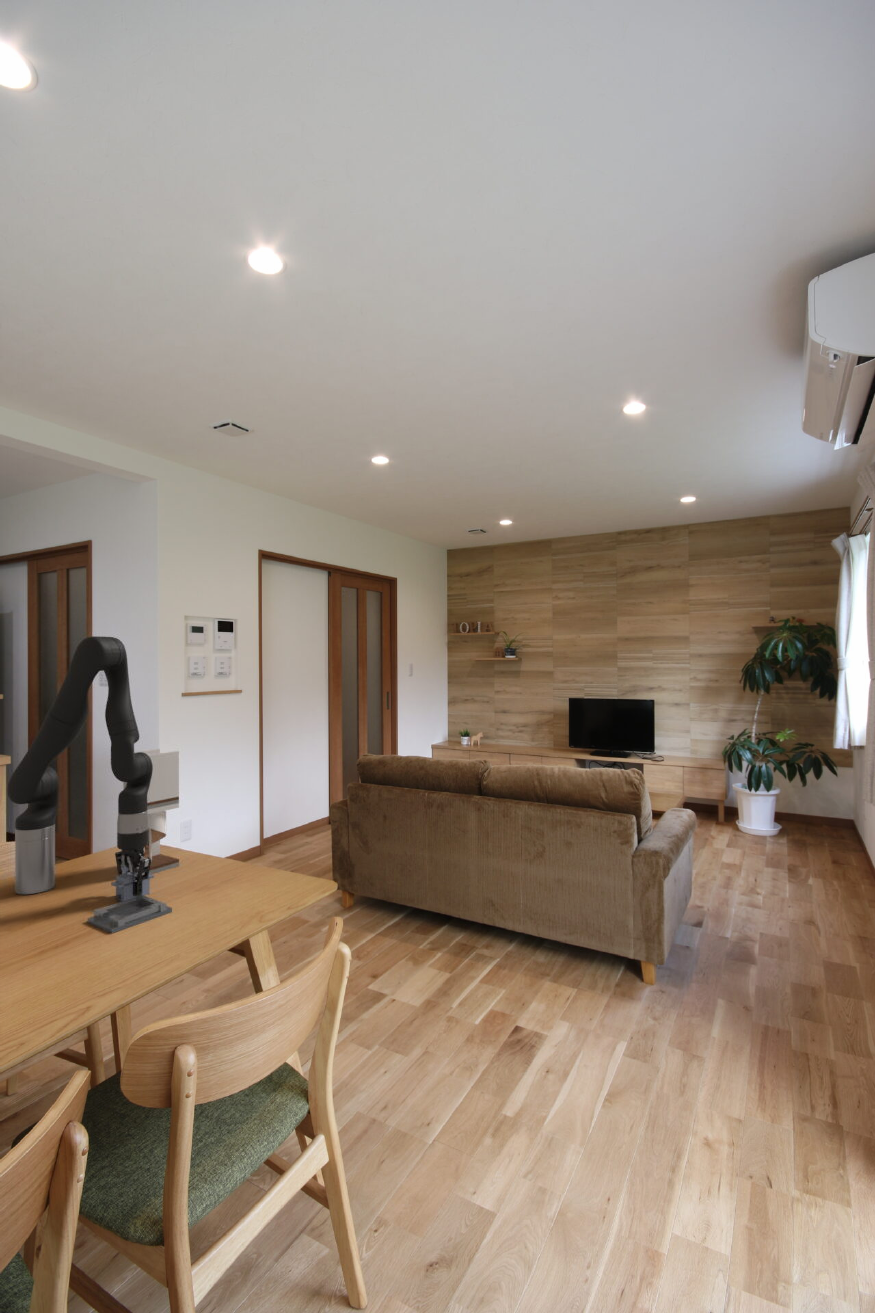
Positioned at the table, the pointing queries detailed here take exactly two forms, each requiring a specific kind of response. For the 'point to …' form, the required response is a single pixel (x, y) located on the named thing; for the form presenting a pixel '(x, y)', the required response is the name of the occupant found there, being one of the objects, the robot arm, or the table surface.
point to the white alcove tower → (161, 805)
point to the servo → (129, 886)
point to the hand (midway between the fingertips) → (132, 893)
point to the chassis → (128, 913)
